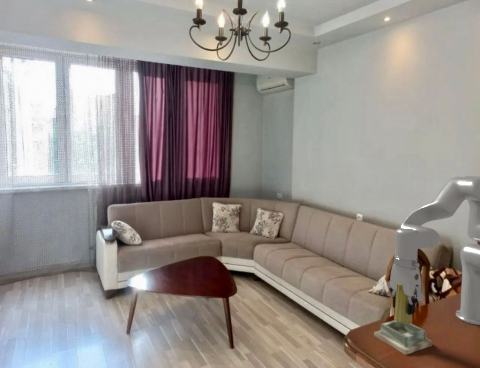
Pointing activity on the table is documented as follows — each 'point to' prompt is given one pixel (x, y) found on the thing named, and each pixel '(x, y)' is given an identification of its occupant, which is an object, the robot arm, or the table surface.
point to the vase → (401, 306)
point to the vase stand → (403, 337)
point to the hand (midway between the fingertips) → (403, 309)
